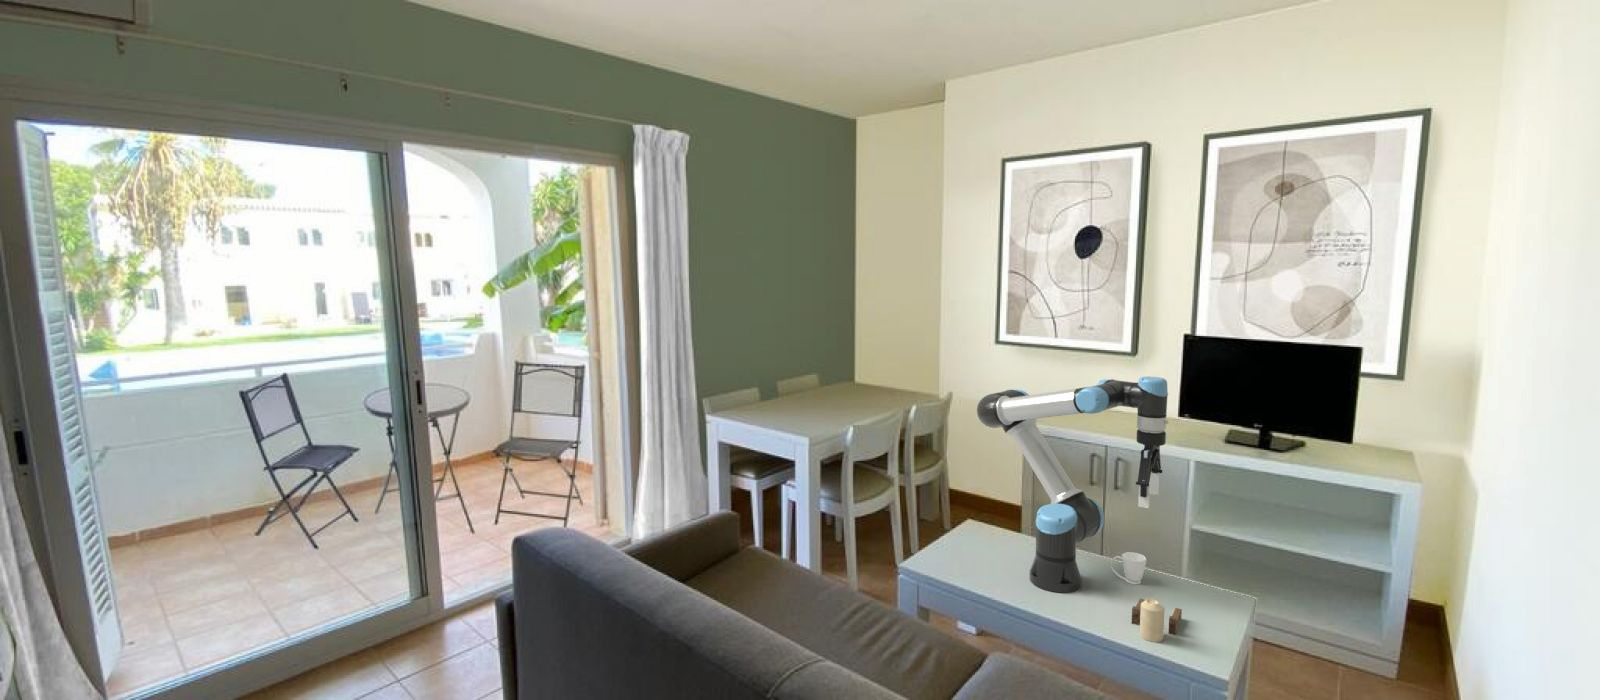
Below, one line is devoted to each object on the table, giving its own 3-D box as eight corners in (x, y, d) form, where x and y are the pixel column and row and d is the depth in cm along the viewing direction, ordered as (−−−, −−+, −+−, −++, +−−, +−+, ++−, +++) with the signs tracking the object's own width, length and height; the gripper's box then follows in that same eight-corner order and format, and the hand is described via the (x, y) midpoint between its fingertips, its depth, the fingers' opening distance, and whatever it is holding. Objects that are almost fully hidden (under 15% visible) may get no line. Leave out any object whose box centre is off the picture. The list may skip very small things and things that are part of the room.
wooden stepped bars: (1131, 623, 183) (1132, 608, 183) (1139, 608, 191) (1140, 593, 191) (1174, 635, 177) (1175, 619, 177) (1181, 619, 185) (1181, 604, 184)
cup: (1144, 588, 203) (1145, 563, 202) (1108, 580, 208) (1109, 556, 208) (1147, 579, 209) (1148, 554, 208) (1112, 572, 214) (1113, 548, 213)
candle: (1166, 643, 174) (1168, 606, 172) (1144, 641, 174) (1145, 605, 173) (1158, 631, 179) (1159, 596, 178) (1136, 630, 180) (1137, 595, 179)
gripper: (1157, 440, 182) (1154, 515, 185) (1173, 423, 202) (1170, 491, 204) (1127, 437, 187) (1124, 510, 190) (1146, 420, 207) (1143, 486, 209)
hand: (1148, 500), depth 197 cm, fingers open, 13 cm apart
